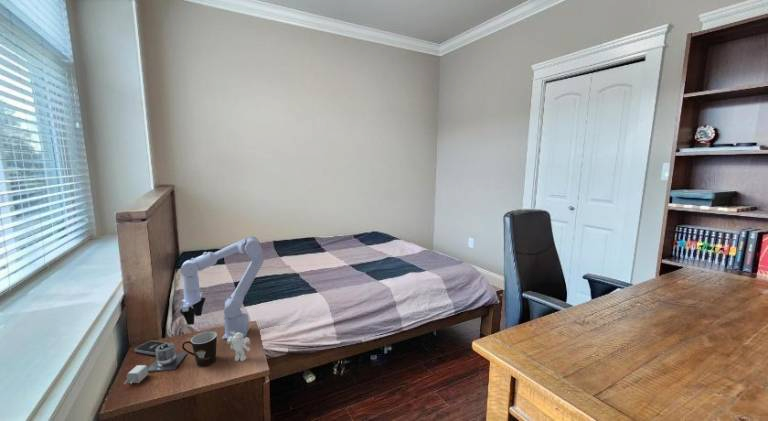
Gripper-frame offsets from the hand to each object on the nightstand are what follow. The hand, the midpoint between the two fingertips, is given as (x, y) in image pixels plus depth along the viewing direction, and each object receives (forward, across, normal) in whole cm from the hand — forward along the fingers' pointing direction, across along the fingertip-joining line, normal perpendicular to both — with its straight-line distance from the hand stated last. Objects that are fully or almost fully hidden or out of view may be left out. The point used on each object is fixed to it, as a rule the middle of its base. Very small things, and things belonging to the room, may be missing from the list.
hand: (194, 319), depth 135 cm
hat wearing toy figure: (+10, +16, +22) cm, 29 cm away
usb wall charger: (+10, +24, -10) cm, 28 cm away
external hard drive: (+10, +4, -15) cm, 19 cm away
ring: (+7, +14, -5) cm, 17 cm away
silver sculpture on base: (+10, +14, -5) cm, 18 cm away
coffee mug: (+10, +15, +8) cm, 20 cm away
